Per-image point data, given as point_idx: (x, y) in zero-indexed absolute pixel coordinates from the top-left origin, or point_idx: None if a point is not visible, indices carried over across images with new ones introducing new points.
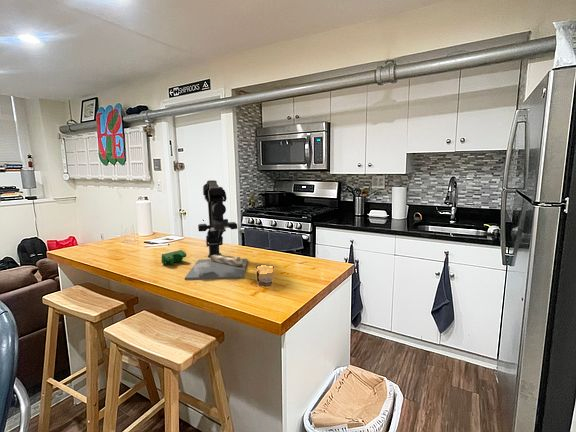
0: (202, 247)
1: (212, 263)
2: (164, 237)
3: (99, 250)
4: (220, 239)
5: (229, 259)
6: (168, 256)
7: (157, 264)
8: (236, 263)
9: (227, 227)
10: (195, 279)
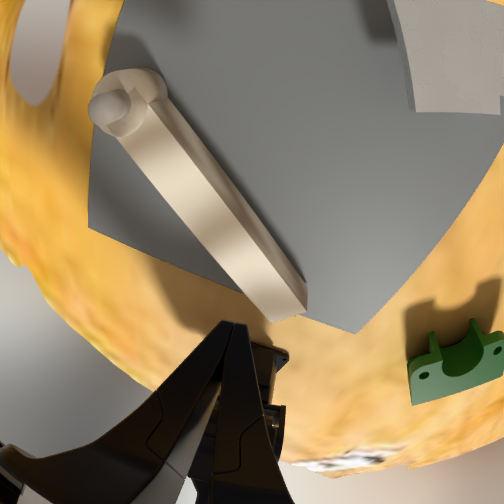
0: None
1: (313, 234)
2: (331, 469)
3: (473, 438)
4: (184, 361)
5: (182, 158)
6: (495, 358)
7: None
8: (145, 75)
9: (4, 480)
10: None
